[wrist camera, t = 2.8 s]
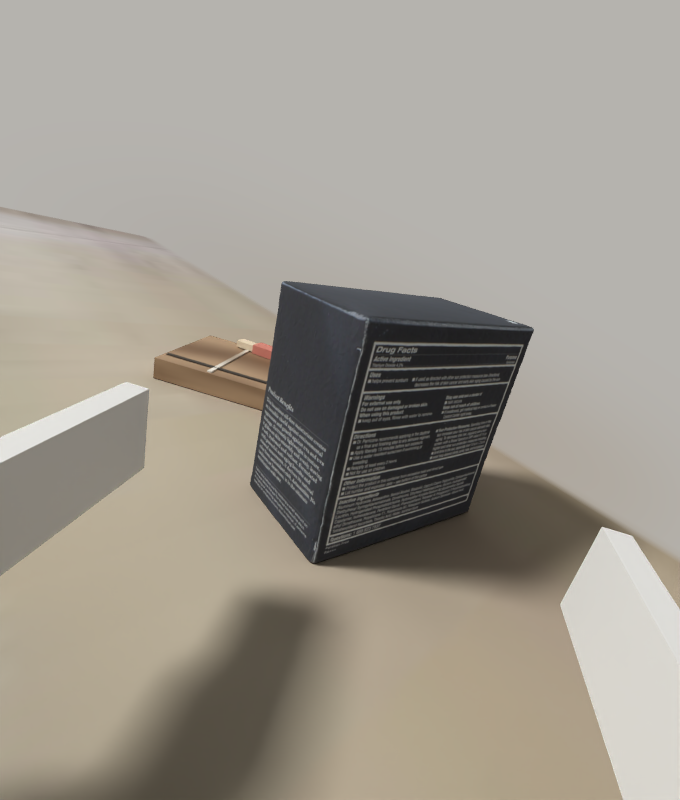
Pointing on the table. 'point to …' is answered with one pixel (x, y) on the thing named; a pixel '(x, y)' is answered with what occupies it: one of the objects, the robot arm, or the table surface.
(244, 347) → the carpenter pencil
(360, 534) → the small box
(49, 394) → the table surface
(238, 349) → the wooden board
